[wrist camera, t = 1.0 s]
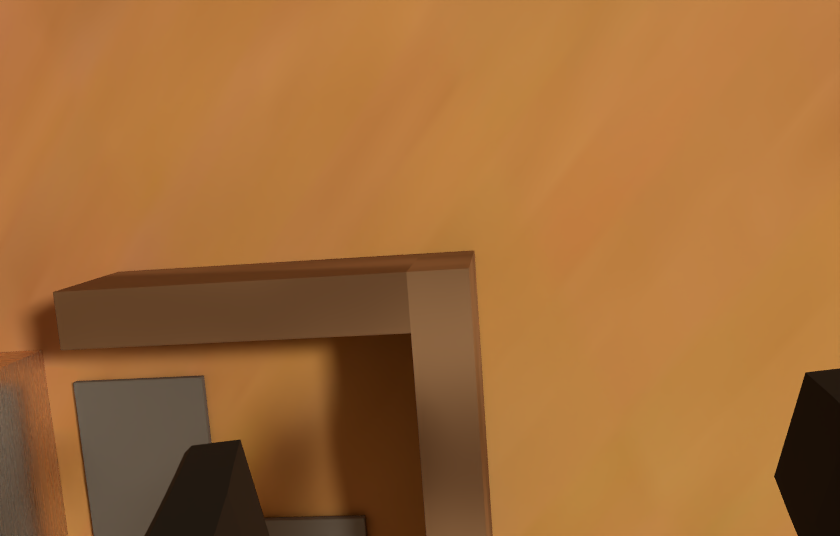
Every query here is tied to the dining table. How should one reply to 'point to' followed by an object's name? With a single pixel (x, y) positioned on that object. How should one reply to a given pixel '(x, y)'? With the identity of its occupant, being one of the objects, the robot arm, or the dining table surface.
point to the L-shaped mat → (156, 453)
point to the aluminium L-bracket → (28, 450)
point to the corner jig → (326, 317)
